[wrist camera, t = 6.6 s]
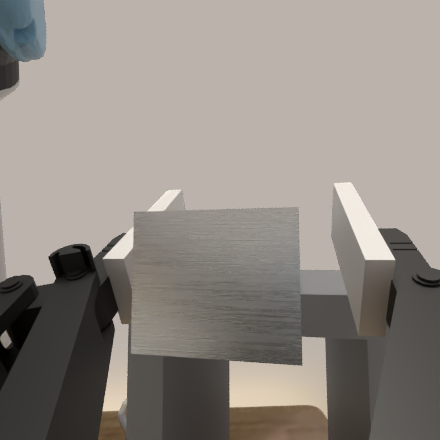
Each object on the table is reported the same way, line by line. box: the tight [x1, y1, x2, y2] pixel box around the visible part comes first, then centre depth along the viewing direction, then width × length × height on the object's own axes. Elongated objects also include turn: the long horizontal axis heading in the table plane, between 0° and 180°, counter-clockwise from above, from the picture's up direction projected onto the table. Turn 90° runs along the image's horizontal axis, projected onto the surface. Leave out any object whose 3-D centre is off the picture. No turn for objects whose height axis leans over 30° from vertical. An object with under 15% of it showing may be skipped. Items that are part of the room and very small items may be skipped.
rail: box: [131, 207, 302, 365], centre depth 19 cm, size 26×4×3 cm, turn 168°
